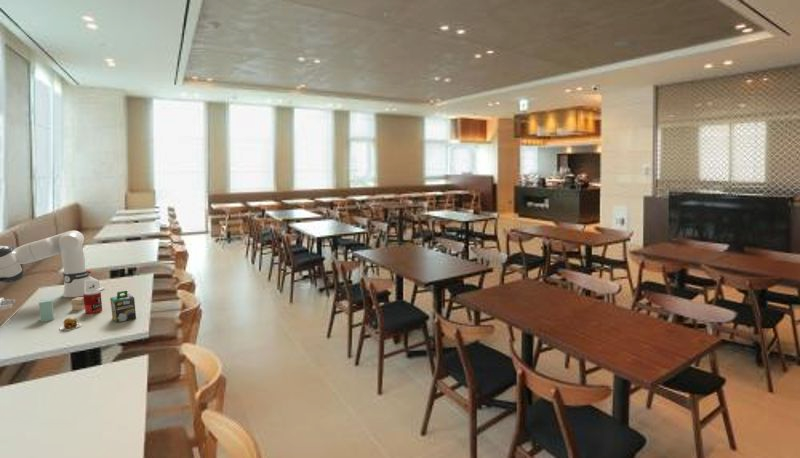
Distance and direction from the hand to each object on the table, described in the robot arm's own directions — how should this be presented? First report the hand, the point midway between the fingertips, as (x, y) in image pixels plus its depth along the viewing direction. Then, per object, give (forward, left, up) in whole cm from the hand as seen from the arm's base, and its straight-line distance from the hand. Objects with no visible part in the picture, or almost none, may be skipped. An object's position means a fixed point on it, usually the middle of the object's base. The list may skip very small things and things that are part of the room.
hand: (13, 303), depth 225 cm
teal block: (-9, +9, -11) cm, 17 cm away
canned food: (-24, +22, -11) cm, 34 cm away
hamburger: (-1, +30, -12) cm, 33 cm away
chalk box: (-17, +47, -11) cm, 51 cm away
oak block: (-27, +10, -11) cm, 31 cm away
